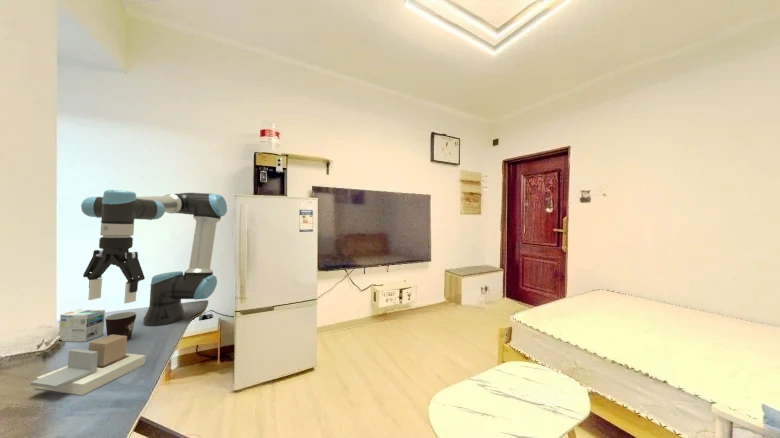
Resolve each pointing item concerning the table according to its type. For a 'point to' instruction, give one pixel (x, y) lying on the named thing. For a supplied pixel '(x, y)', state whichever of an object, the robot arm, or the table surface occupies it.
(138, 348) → the table surface
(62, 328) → the light bulb box
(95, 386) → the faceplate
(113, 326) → the coffee mug
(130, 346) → the table surface
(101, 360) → the plug
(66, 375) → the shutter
